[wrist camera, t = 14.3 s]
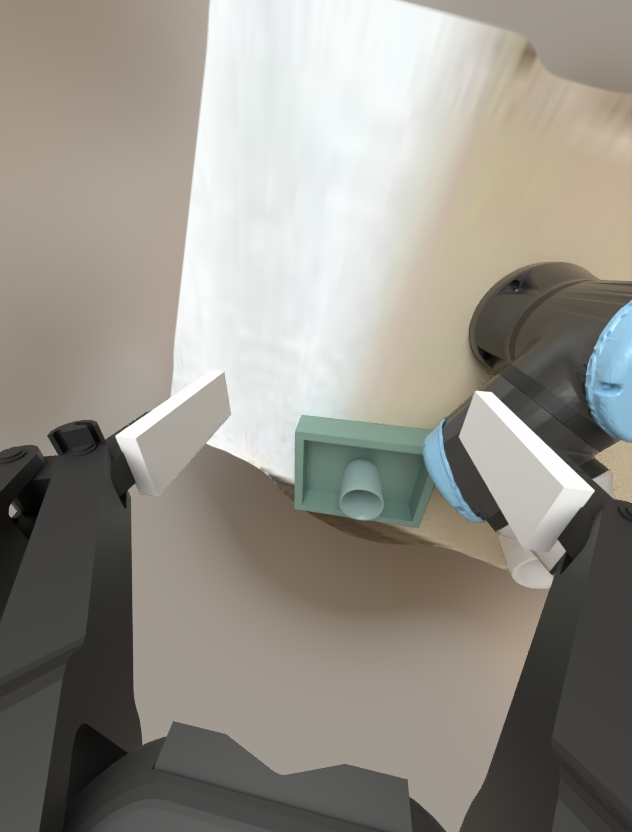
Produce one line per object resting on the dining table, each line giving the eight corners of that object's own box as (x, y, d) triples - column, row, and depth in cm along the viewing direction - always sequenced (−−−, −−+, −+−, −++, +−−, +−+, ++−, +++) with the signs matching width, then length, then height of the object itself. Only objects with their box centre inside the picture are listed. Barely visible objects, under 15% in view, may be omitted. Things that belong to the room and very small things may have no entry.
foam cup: (543, 506, 54) (591, 569, 43) (511, 532, 59) (546, 594, 47) (502, 490, 53) (540, 548, 42) (473, 517, 58) (499, 576, 47)
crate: (438, 430, 49) (447, 449, 44) (413, 505, 59) (418, 528, 54) (301, 415, 52) (295, 431, 47) (300, 488, 62) (294, 508, 57)
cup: (338, 476, 56) (333, 513, 48) (348, 448, 52) (345, 483, 44) (373, 486, 56) (375, 525, 47) (386, 458, 52) (391, 496, 44)
